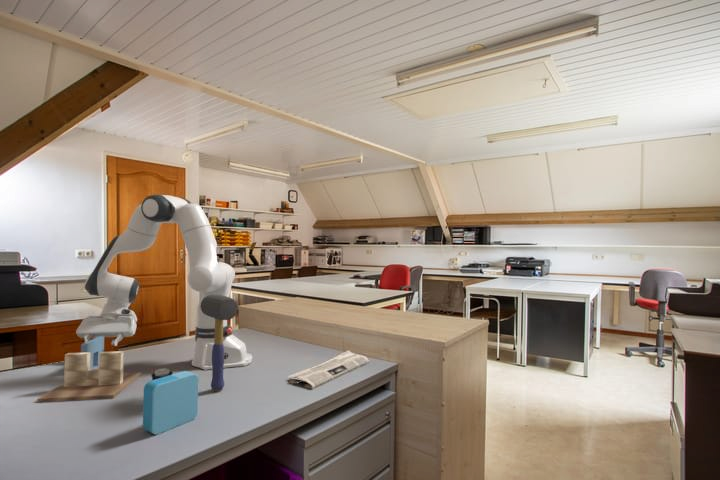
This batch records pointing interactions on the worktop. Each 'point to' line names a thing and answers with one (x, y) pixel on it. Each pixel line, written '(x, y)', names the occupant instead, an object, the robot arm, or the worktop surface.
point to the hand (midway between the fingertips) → (100, 345)
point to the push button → (161, 373)
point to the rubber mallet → (218, 332)
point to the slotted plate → (94, 349)
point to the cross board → (88, 391)
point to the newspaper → (330, 369)
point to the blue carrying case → (170, 402)
